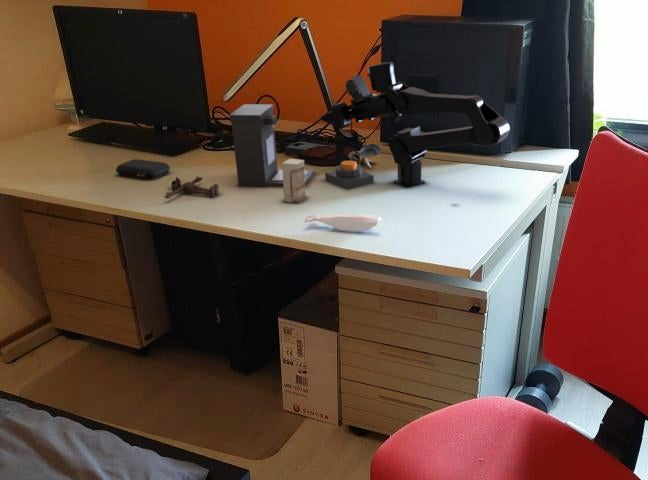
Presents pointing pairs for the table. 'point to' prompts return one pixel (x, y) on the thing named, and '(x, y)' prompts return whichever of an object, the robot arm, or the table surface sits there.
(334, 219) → the white fish figurine
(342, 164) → the button
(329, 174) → the dark grey button base
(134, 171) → the carrying case
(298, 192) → the cream carton
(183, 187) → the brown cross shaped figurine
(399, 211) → the table surface
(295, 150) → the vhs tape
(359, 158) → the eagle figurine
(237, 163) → the coffee maker
